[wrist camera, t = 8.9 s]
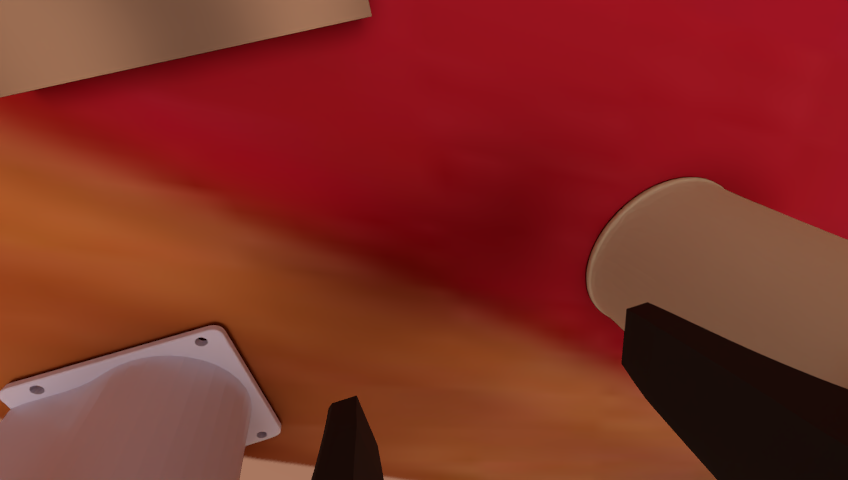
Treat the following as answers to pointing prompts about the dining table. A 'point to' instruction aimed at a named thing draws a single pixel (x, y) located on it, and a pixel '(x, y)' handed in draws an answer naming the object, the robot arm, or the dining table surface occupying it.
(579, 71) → the dining table surface
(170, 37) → the plinth
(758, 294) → the can
